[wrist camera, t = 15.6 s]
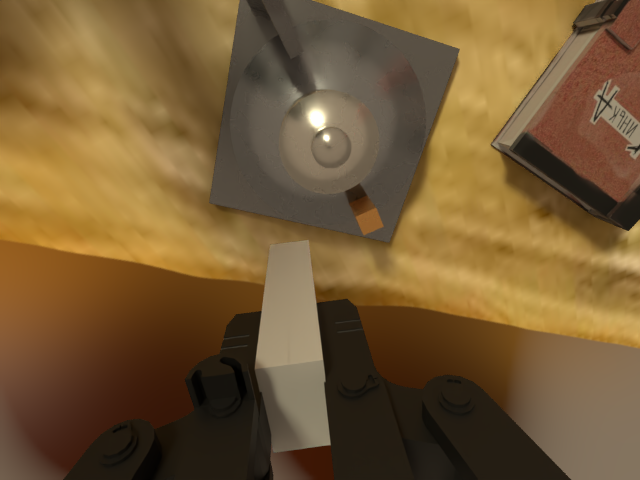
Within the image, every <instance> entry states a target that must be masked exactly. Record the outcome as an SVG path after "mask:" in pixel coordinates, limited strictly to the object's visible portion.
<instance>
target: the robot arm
mask: <svg viewBox="0 0 640 480" xmlns="http://www.w3.org/2000/svg"><path fill="white" fill-rule="evenodd" d="M185 382H186V385H187V387H188V391H189V394H190V397H191V399H192V402H193V405H194V411H192V412H191V413H190V414H188V415H187V416H185V417H183V418H181V419H179V420H176V421H174V422H172V423H169V424H167V425H165V426H162V427H159V428H157V429H154V428H153V426H152V425H151V424H150V422H148V421H145V420H142V419H133V420H127V421H124V422H122V423H119V424H117V425H114V426H113V427H112V428H110V429H108V430H107V431H105V432H104V433H102V434H101V435H100V436H99V437H98V438H97V439H96V440H95V441H94V442H93V443H92V444H91V445H90V447H89V448H88V449H87V450H86V452H85V453H84V454H83V455H82V457H81V458H80V459H79V460H78V462H77V463H76V464H75V465H74V467H73V468H72V469H71V471H70V472H69V473H68V474H67V476H66V477H65V478H64V479H63V480H273V472H272V466H271V461H270V453H271V443H272V448H273V452H274V453H276V452H282V451H290V450H297V449H304V448H311V447H318V446H325V445H331V452H332V461H333V470H334V480H571V479H570V478H569V477H568V476H567V475H566V474H565V473H564V472H563V471H562V470H561V469H560V468H559V467H558V466H557V465H556V464H555V463H554V462H553V461H552V460H551V459H550V458H549V457H548V456H547V455H546V454H545V453H544V452H543V451H542V449H541V448H540V447H539V446H538V445H537V444H536V443H535V442H534V441H533V440H532V439H531V438H530V437H529V436H528V435H527V434H526V433H525V432H524V431H523V430H522V429H521V428H520V427H519V426H518V425H517V424H516V423H515V422H514V421H513V420H512V419H511V418H510V417H509V416H508V415H507V414H506V413H505V412H504V411H503V410H502V409H501V408H500V406H498V404H497V403H496V402H495V401H494V400H493V399H491V397H490V396H489V395H488V394H487V393H486V392H485V391H484V390H483V389H481V388H480V387H479V386H478V385H476V384H475V383H474V382H472V381H470V380H468V379H465V378H463V377H460V376H453V375H444V376H438V377H435V378H433V379H432V380H430V381H428V382H427V384H426V386H425V387H424V389H416V388H408V387H403V386H398V385H396V384H393V383H391V382H389V381H387V380H386V379H384V378H383V377H382V376H381V375H380V374H379V373H378V372H377V370H376V368H375V366H374V363H373V360H372V357H371V353H370V350H369V347H368V344H367V340H366V337H365V334H364V330H363V327H362V324H361V321H360V317H359V314H358V310H357V307H356V306H354V305H353V304H352V303H351V302H350V301H349V300H348V299H343V300H336V301H328V302H320V303H316V297H315V289H314V280H313V272H312V264H311V256H310V248H309V240H303V241H295V242H287V243H279V244H271V245H270V249H269V257H268V265H267V273H266V281H265V289H264V298H263V305H262V311H259V312H251V313H244V314H236V315H235V316H234V318H233V319H232V320H231V321H230V323H229V324H228V325H227V327H226V332H225V335H224V340H223V343H222V346H221V350H220V354H218V355H214V356H210V357H208V358H207V359H205V360H203V361H201V362H199V363H198V364H197V365H196V366H195V367H194V368H192V369H191V370H190V372H189V374H188V375H187V377H186V378H185Z"/></svg>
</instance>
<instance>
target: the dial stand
mask: <svg viewBox="0 0 640 480" xmlns="http://www.w3.org/2000/svg"><path fill="white" fill-rule="evenodd" d="M246 1H247V3H248V5H249V7H250V8H251V9H252V10H256V11H259V12H262V13H265V14H268V15H269V16H270V18H271V21H272V23H273V25H274V27H275V29H276V31H277V33H278V35H279V37H280V39H281V41H282V43H283V45H284V47H285V49H286V51H287V53H288V55H289V57H290V59H291V60H292V59H294V58H296V57H297V56H299V55H301V54H302V53H304V51H303V49H302V47H301V45H300V43H299V40H298V38H297V36H296V34H295V32H294V30H293V28H292V25H291V23H290V21H289V19H288V17H287V15H286V13H285V11H284V8H283V6H282V4H281V2H280V0H246Z"/></svg>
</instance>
